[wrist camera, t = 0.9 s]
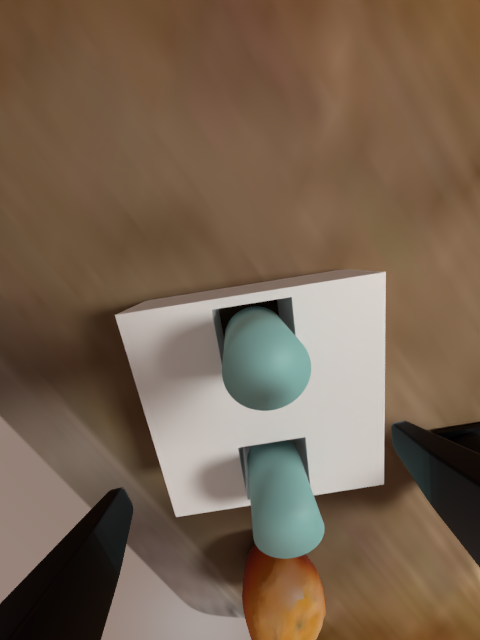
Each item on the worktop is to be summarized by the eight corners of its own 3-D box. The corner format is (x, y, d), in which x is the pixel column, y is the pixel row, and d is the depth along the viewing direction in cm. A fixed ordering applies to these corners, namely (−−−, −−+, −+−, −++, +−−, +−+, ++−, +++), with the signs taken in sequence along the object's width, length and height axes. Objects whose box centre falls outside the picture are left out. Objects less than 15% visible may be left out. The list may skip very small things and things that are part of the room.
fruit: (214, 583, 25) (240, 676, 17) (250, 505, 27) (287, 556, 20) (270, 610, 26) (317, 707, 19) (299, 534, 29) (350, 591, 22)
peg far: (296, 432, 17) (322, 500, 12) (300, 474, 18) (326, 552, 13) (243, 440, 17) (248, 512, 12) (250, 482, 18) (258, 563, 13)
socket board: (344, 269, 18) (385, 271, 13) (350, 435, 22) (383, 484, 17) (145, 300, 18) (114, 315, 13) (187, 461, 22) (176, 517, 17)
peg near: (282, 301, 14) (307, 322, 10) (288, 359, 16) (314, 403, 11) (220, 311, 15) (214, 336, 10) (230, 368, 16) (229, 416, 11)
